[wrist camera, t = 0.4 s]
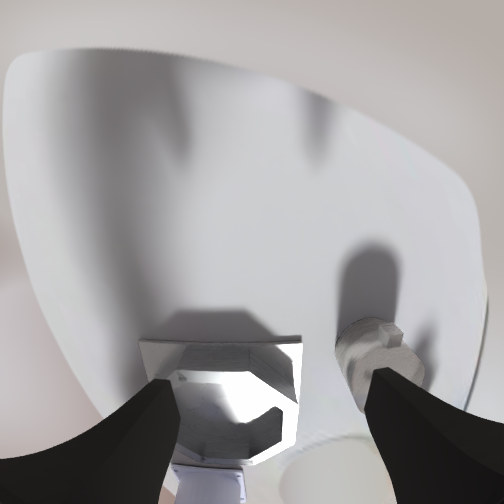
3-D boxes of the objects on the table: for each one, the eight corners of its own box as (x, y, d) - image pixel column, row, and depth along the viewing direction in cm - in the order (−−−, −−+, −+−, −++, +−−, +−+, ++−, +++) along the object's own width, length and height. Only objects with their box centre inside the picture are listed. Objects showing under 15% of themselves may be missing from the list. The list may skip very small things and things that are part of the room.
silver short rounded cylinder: (385, 365, 19) (413, 407, 14) (331, 373, 19) (349, 421, 14) (398, 303, 18) (436, 336, 13) (339, 308, 18) (366, 349, 13)
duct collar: (292, 442, 21) (295, 465, 18) (169, 438, 21) (162, 459, 18) (301, 340, 19) (308, 364, 16) (140, 339, 19) (124, 359, 16)
